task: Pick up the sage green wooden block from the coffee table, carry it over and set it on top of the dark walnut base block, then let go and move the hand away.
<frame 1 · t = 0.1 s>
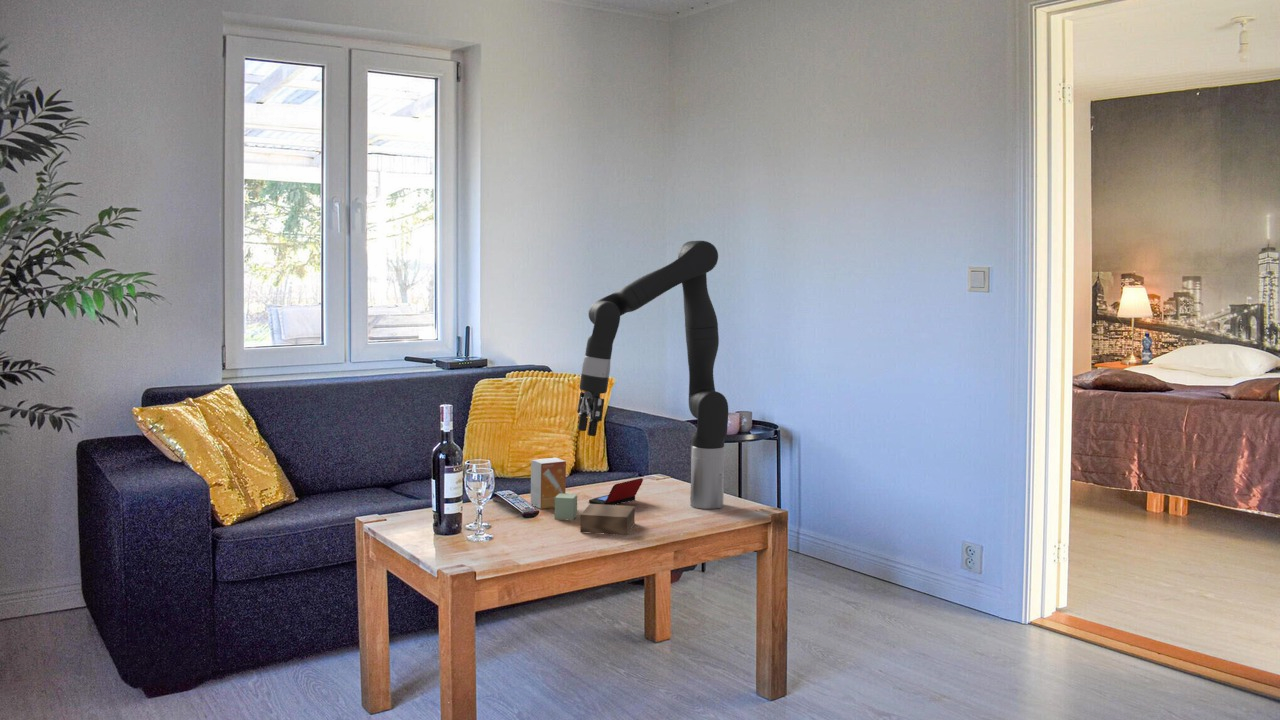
hand: (586, 433, 271), 22 cm above the table, tool pointing down, fingers open, 8 cm apart
green block: (565, 517, 269), on the table
small box: (548, 506, 282), on the table
handheld game console: (615, 504, 287), on the table
walnut base: (607, 529, 259), on the table
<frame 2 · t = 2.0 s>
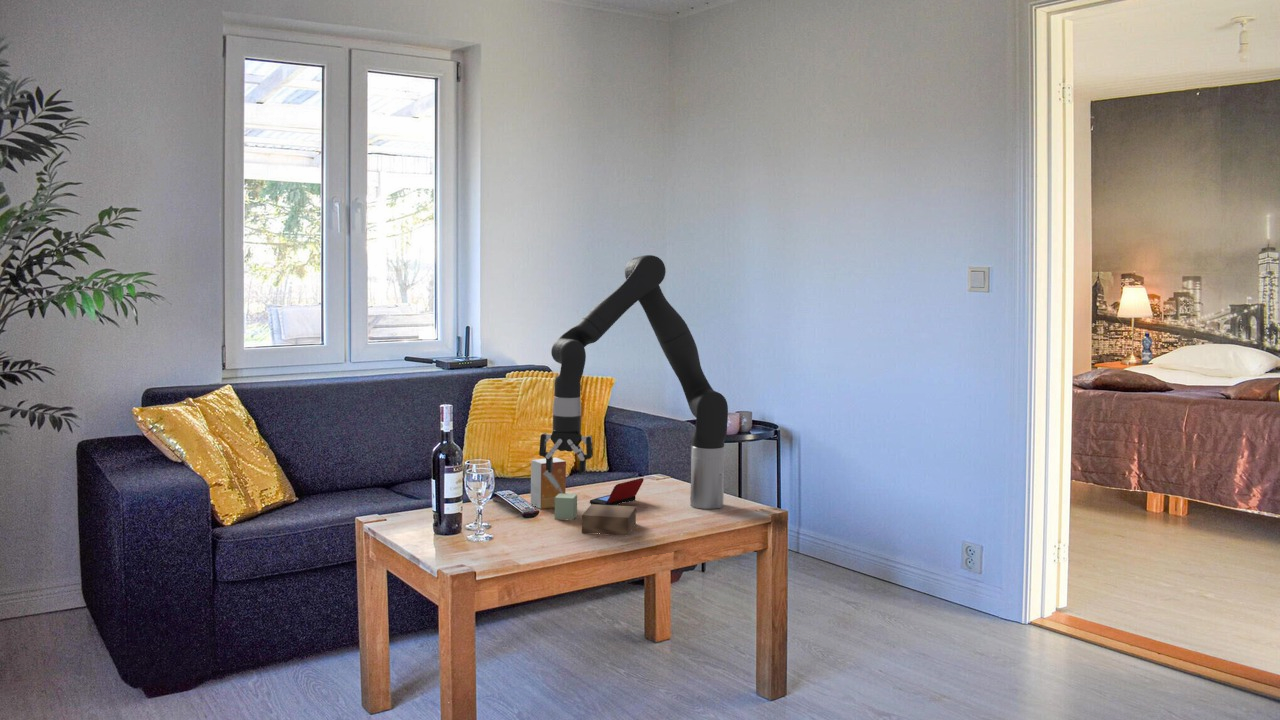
hand: (565, 473, 268), 12 cm above the table, tool pointing down, fingers open, 8 cm apart
nothing on the table moved.
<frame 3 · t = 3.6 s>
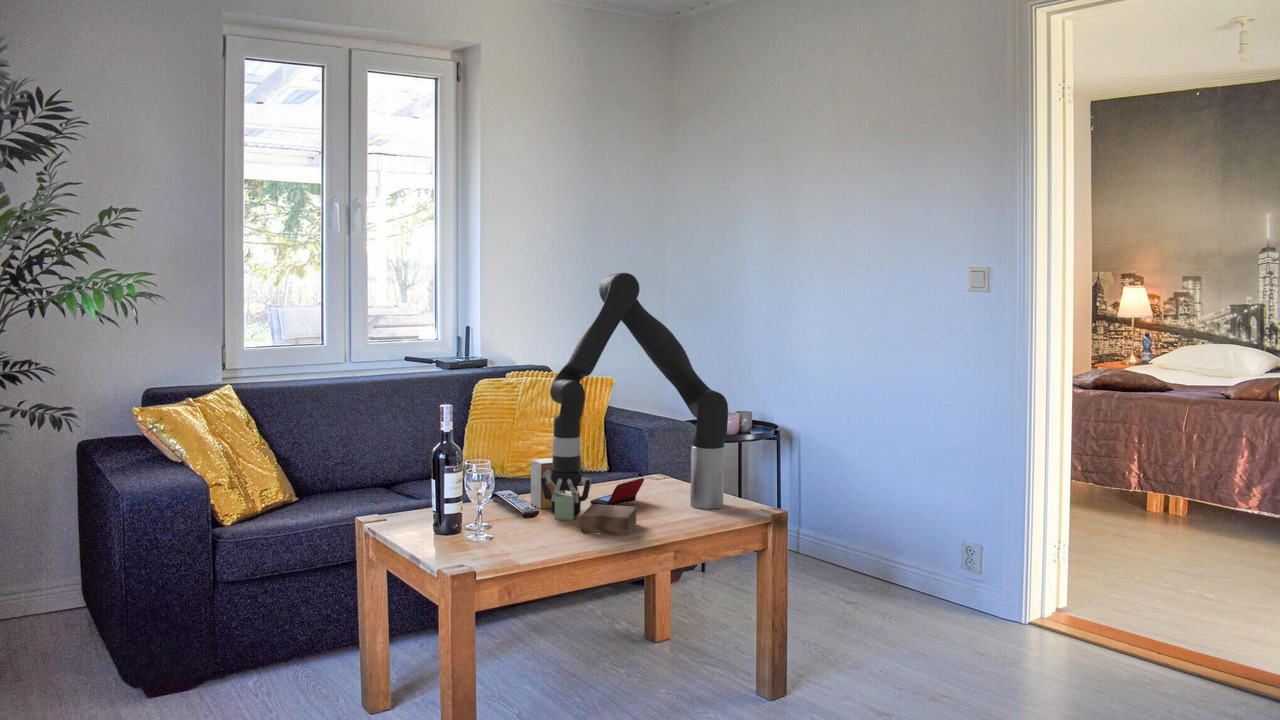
hand: (565, 514, 269), 1 cm above the table, tool pointing down, fingers closed on green block, 5 cm apart
green block: (565, 517, 269), on the table, touching gripper
everything else where it was.
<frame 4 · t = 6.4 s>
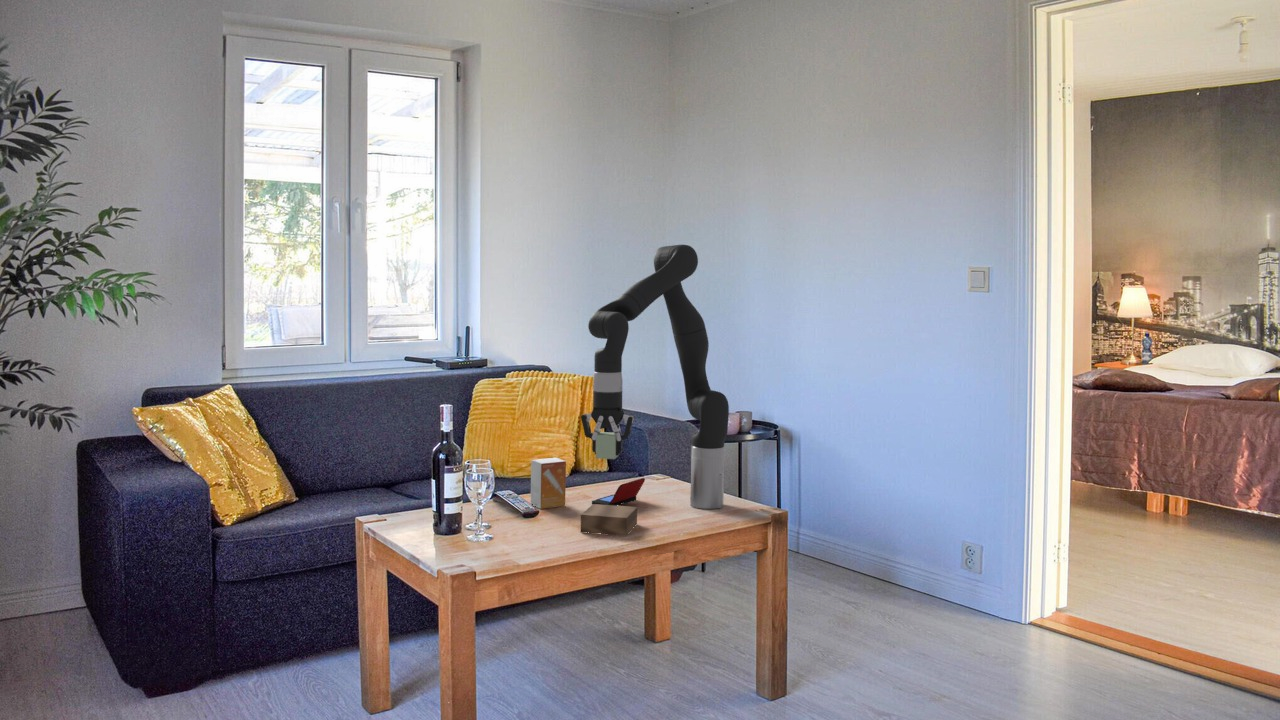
hand: (607, 454, 258), 19 cm above the table, tool pointing down, fingers closed on green block, 5 cm apart
green block: (607, 456, 258), point 19 cm above the table, touching gripper
when the fingers open (7 cm above the table, at t = 9.2 s): green block drops 2 cm, resting on walnut base.
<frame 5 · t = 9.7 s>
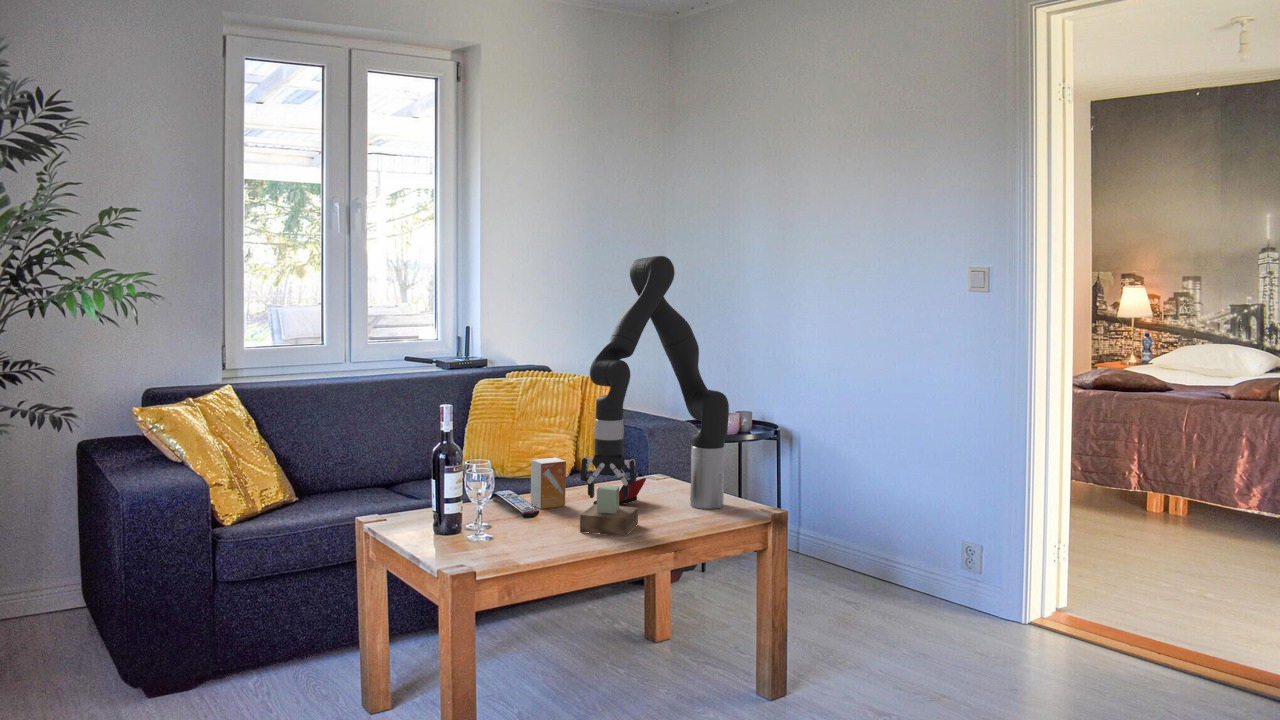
hand: (608, 498, 258), 8 cm above the table, tool pointing down, fingers open, 8 cm apart
green block: (607, 510, 259), point 5 cm above the table, touching walnut base
walnut base: (609, 530, 258), on the table, touching green block
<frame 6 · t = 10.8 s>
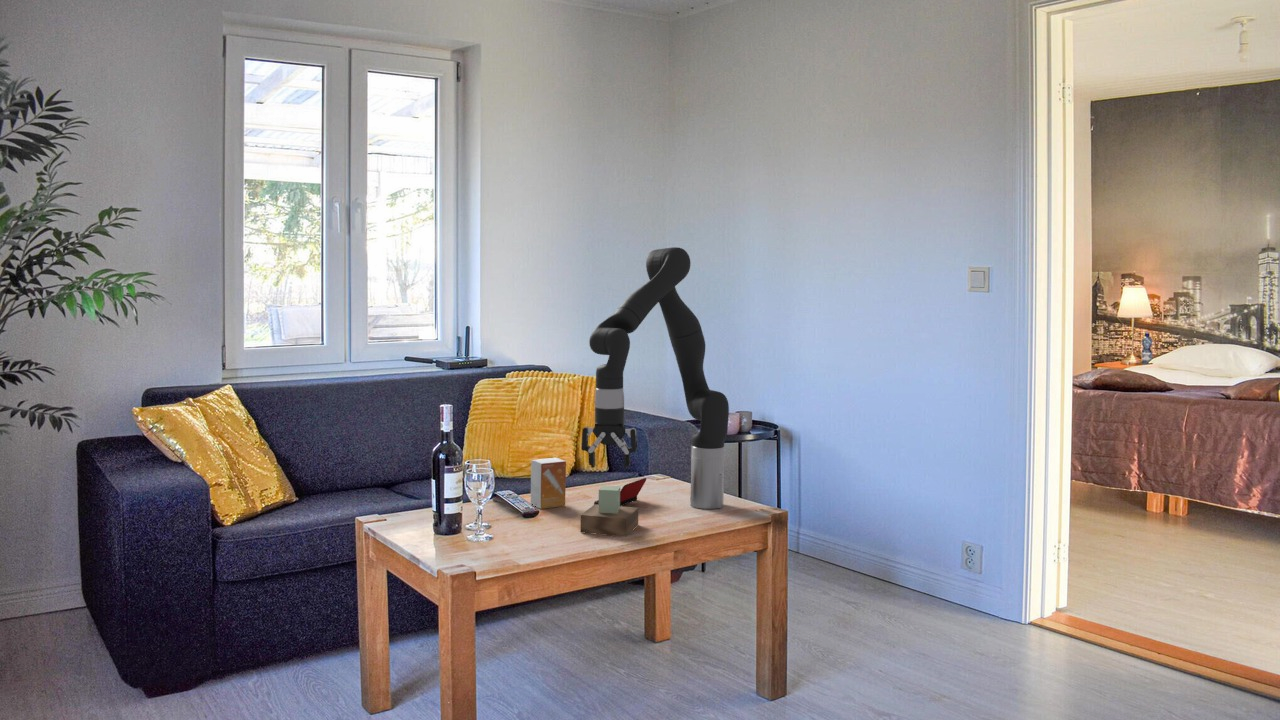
hand: (609, 467, 258), 16 cm above the table, tool pointing down, fingers open, 8 cm apart
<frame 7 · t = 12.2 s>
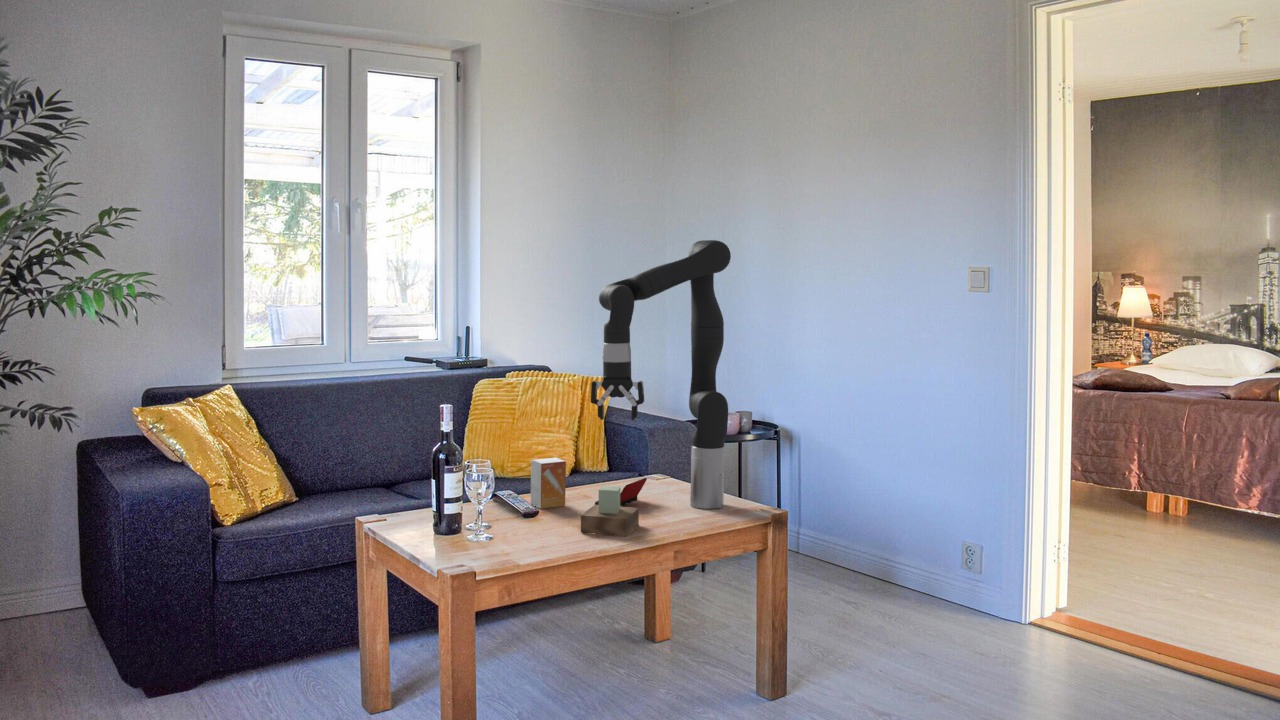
hand: (617, 419, 268), 27 cm above the table, tool pointing down, fingers open, 8 cm apart
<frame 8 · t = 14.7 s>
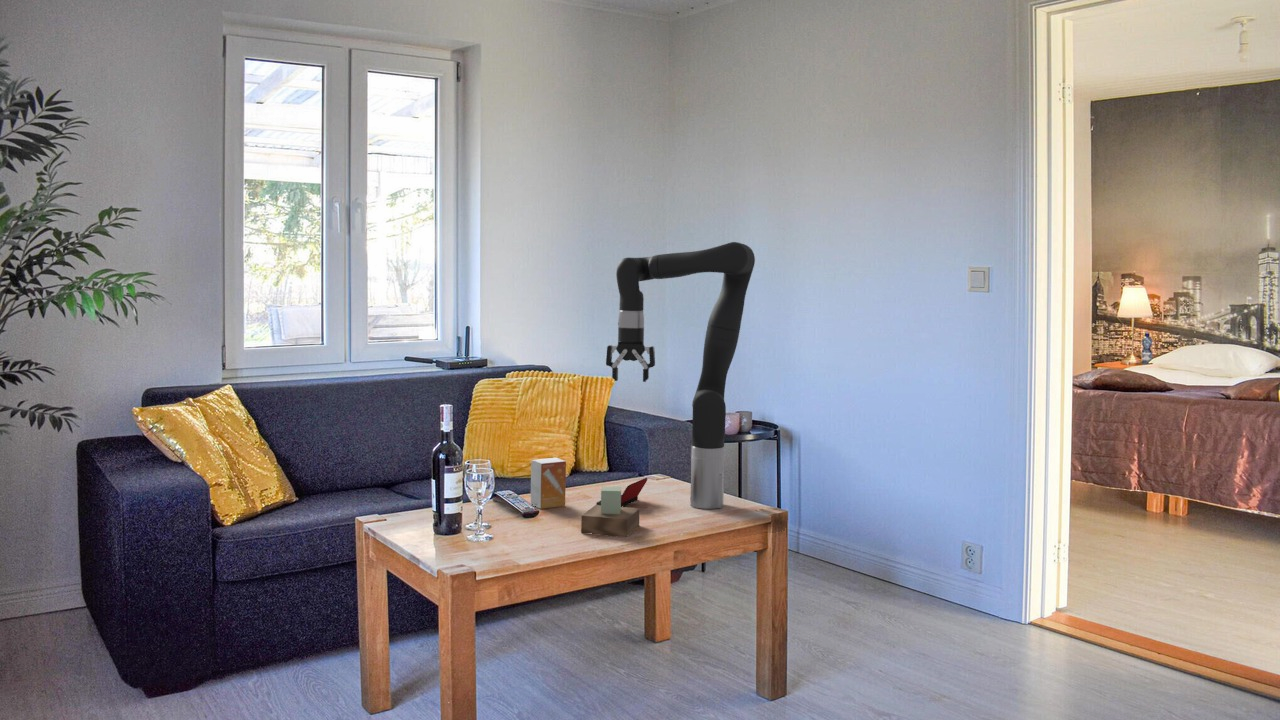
hand: (630, 381, 293), 34 cm above the table, tool pointing down, fingers open, 8 cm apart
at the end: green block inside the target area on the walnut base (0.2 cm from its centre), point 5.0 cm above the walnut base's base; green block tilted 0°; green block touching walnut base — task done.
